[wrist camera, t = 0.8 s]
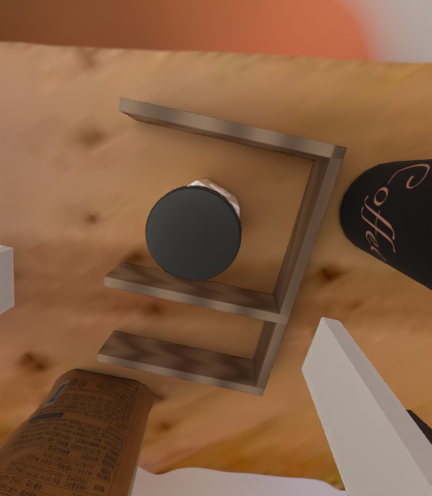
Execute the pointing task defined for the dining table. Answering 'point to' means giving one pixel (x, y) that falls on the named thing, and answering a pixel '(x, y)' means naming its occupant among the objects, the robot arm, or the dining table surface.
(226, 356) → the lane organizer
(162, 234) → the jar
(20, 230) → the dining table surface
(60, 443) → the pancake mix bag
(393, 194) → the coffee jar
